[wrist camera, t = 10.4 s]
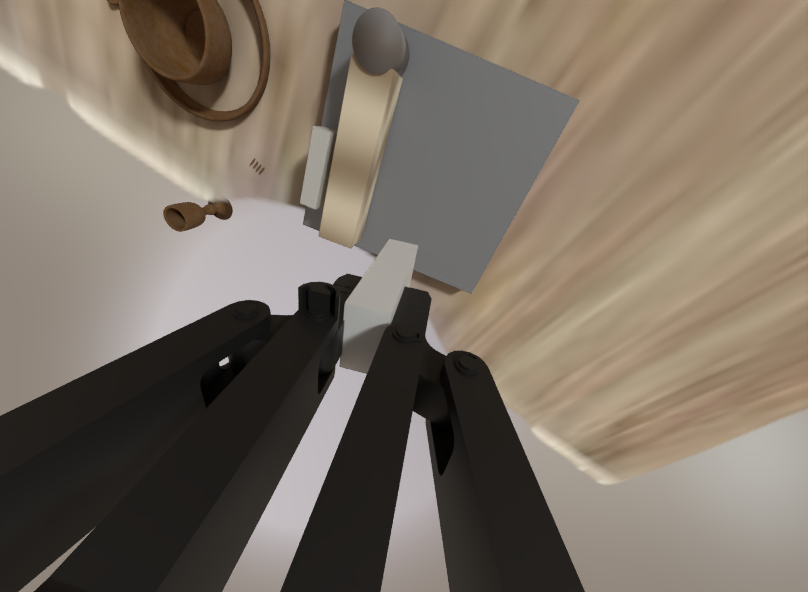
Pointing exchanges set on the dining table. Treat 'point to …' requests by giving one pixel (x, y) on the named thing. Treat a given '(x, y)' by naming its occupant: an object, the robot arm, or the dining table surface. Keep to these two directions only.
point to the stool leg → (363, 124)
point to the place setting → (189, 68)
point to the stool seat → (443, 154)
